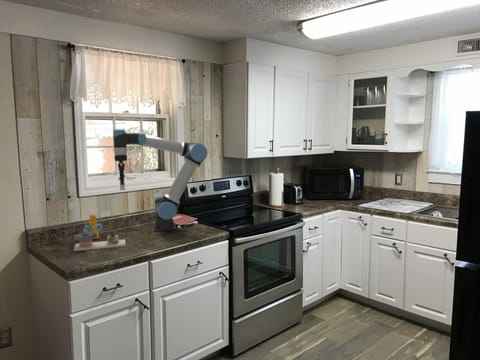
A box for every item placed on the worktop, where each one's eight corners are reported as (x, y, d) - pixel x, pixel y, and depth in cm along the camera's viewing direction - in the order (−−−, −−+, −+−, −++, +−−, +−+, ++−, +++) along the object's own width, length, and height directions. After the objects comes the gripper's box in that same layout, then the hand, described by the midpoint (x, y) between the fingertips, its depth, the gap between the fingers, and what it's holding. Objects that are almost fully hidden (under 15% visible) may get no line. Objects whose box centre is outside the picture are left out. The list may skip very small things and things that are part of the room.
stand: (118, 240, 230) (118, 228, 229) (118, 243, 224) (117, 231, 223) (107, 241, 228) (106, 229, 228) (107, 244, 222) (106, 232, 221)
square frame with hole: (97, 237, 223) (96, 233, 223) (84, 241, 216) (84, 237, 215) (86, 236, 228) (86, 231, 227) (73, 239, 220) (73, 235, 219)
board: (125, 241, 234) (125, 239, 234) (125, 246, 223) (125, 244, 223) (76, 245, 226) (75, 243, 225) (73, 251, 215) (73, 249, 215)
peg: (92, 243, 226) (91, 228, 225) (91, 246, 220) (90, 231, 219) (80, 244, 224) (79, 229, 223) (78, 247, 218) (77, 232, 217)
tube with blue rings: (96, 235, 250) (95, 212, 248) (107, 237, 245) (106, 214, 243) (80, 239, 239) (78, 216, 238) (91, 241, 234) (89, 217, 232)
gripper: (114, 153, 245) (116, 186, 248) (113, 155, 222) (115, 191, 224) (126, 153, 248) (128, 185, 250) (127, 155, 224) (129, 190, 226)
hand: (122, 188), depth 237 cm, fingers open, 13 cm apart
